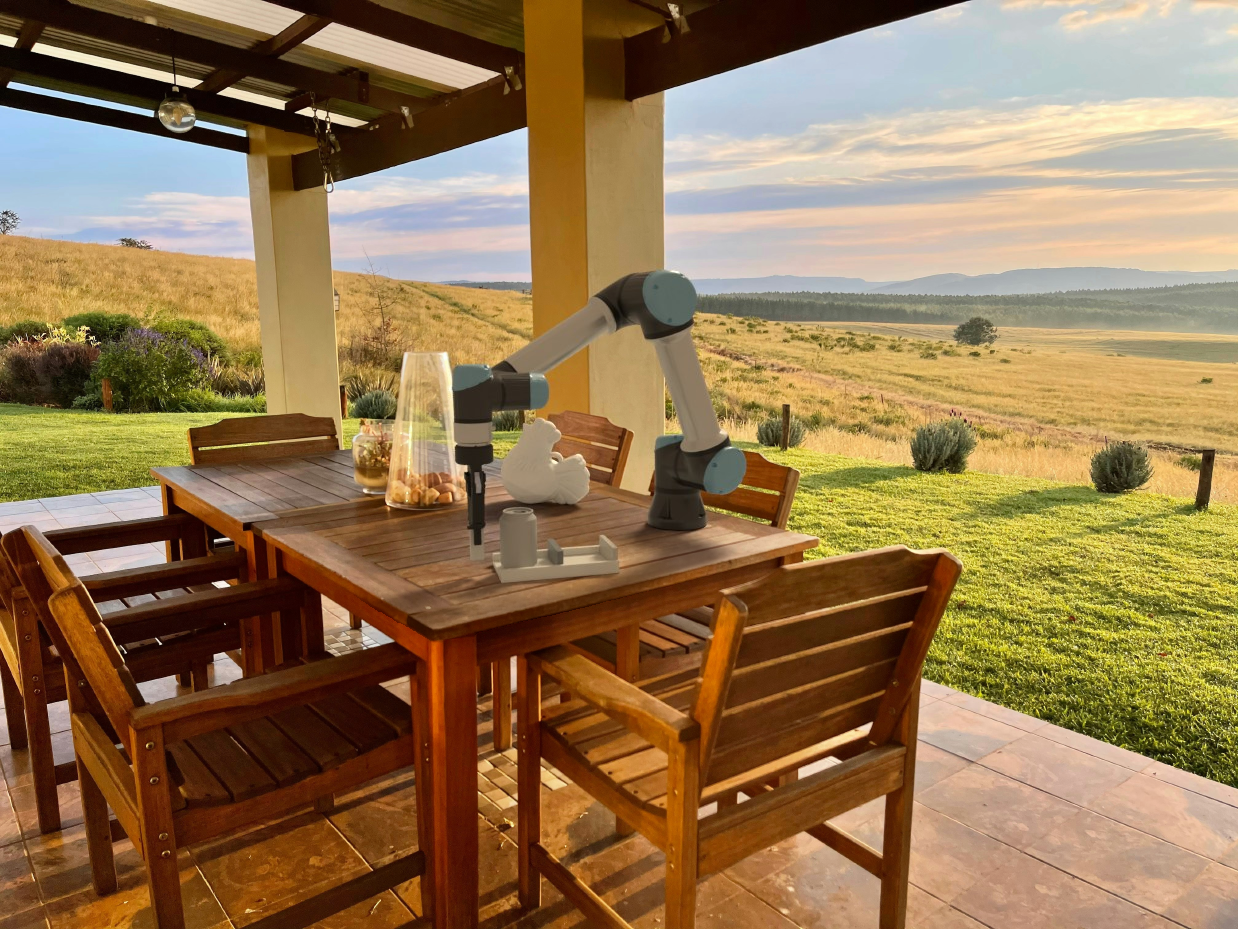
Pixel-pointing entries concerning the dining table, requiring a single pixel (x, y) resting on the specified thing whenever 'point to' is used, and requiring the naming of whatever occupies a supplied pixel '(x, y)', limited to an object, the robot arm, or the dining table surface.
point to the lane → (565, 563)
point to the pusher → (554, 552)
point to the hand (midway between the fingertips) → (477, 559)
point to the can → (518, 538)
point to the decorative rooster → (543, 468)
